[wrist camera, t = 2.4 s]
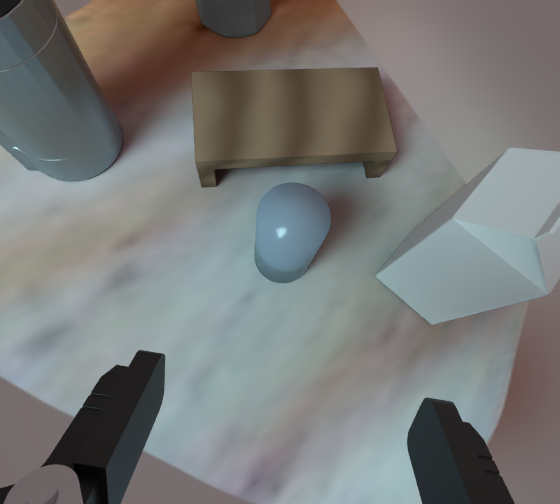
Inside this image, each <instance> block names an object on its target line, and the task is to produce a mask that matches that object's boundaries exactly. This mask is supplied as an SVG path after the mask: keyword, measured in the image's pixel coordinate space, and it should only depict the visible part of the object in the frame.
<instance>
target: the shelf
mask: <svg viewBox="0 0 560 504" xmlns="http://www.w3.org/2000/svg"><path fill="white" fill-rule="evenodd" d="M191 77H192V99H193V122H194V144H195V163H196V166H197V170H198V174H199V178H200V182H201V186H202V187H217V186H216V170H215V169H229V168H248V167H267V166H286V165H305V164H324V163H343V162H363V164H364V169H365V175H366V178H376V177H380V176H381V174H382V173H383V171H384V170H385V168H386V167H387V166H388V164H389V163H390V161H391V160H392V158H393V157H394V155H395V154H396V152H397V150H396V145H395V141H394V136H393V132H392V128H391V123H390V119H389V114H388V110H387V105H386V101H385V97H384V92H383V88H382V83H381V79H380V75H379V70H378V67H375V68H333V69H292V70H251V71H210V72H191Z"/></svg>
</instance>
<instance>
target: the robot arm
mask: <svg viewBox="0 0 560 504" xmlns="http://www.w3.org/2000/svg"><path fill="white" fill-rule="evenodd" d="M122 140H123V138H122V131H121V128H120V126H119V123H118V121H117V120H116V117H115V115H114V113H113V111H112V109H111V108H110V106H109V104H108V102H107V100H106V98H105V96H104V95H103V93H102V91H101V89H100V87H99V85H98V83H97V81H96V79H95V77H94V76H93V74H92V72H91V70H90V68H89V66H88V64H87V62H86V60H85V59H84V57H83V55H82V53H81V51H80V49H79V47H78V45H77V43H76V41H75V40H74V38H73V36H72V34H71V32H70V30H69V28H68V26H67V24H66V23H65V21H64V19H63V17H62V15H61V13H60V11H59V9H58V8H57V5H56V4H55V2H54V0H0V145H1V146H2V147H3V148H5V149H6V150H7V151H8V152H9V153H10V154H11V155H12V156H13V157H14V158H15V159H17V160H18V161H19V162H20V163H21V164H22V165H23V166H24V167H25V168H26V169H28V170H39V171H41V172H43V173H44V174H46V175H48V176H49V177H52V178H55V179H58V180H63V181H80V180H84V179H89V178H91V177H94V176H96V175H98V174H100V173H101V172H103V171H104V170H106V169H107V168H108V167H109V166H110V165H111V164H112V163H113V162H114V161H115V159H116V158H117V156H118V155H119V152H120V150H121V147H122ZM164 381H165V355H164V354H161V353H155V352H149V351H143V350H139V351H138V352H137V353H136V355H135V357H134V358H133V360H132V362H131V363H130V365H129V367H126V366H120V365H116V366H115V367H113V368H112V369H111V370H110V371H108V372H107V373H106V374H104V375H103V376H102V377H101V378H100V380H99V381H98V383H97V384H96V386H95V387H94V389H93V390H92V392H91V395H89V396H88V398H87V400H86V401H85V403H84V404H83V407H82V408H81V409H80V410H79V412H78V413H77V415H76V416H75V418H74V419H73V421H72V423H71V424H70V426H69V427H68V429H67V430H66V432H65V433H64V435H63V436H62V438H61V440H60V441H59V443H58V444H57V446H56V447H55V449H54V450H53V452H52V453H51V455H50V456H49V458H48V459H47V461H46V462H45V463H44V464H43V465H42V466H41V467H40V468H38V469H36V470H34V471H32V472H30V473H28V474H27V475H25V476H24V477H23V478H21V479H20V480H19V481H18V482H17V483H16V484H13V485H10V486H8V487H4V488H0V504H120V503H121V501H122V499H123V496H124V494H125V491H126V489H127V487H128V484H129V482H130V479H131V477H132V475H133V472H134V470H135V467H136V465H137V463H138V460H139V458H140V456H141V453H142V451H143V448H144V446H145V444H146V441H147V439H148V436H149V434H150V432H151V429H152V427H153V424H154V422H155V420H156V417H157V415H158V413H159V410H160V407H161V404H162V400H163V395H164ZM407 446H408V452H409V456H410V460H411V463H412V467H413V471H414V474H415V478H416V482H417V485H418V489H419V493H420V496H421V500H422V504H515V503H514V502H513V499H512V497H511V495H510V493H509V491H508V489H507V487H506V485H505V483H504V481H503V479H502V477H501V476H500V475H499V473H500V472H499V470H498V468H497V466H496V464H495V462H494V461H492V456H491V454H490V452H489V450H488V448H487V446H486V443H485V441H484V439H483V438H482V437H481V436H480V435H479V434H478V432H477V431H476V430H475V429H474V428H473V427H472V425H471V424H470V423H467V422H462V419H461V417H460V415H459V413H458V410H457V408H456V406H455V405H454V403H453V402H451V401H445V400H438V399H432V398H425V399H424V400H423V402H422V404H421V406H420V408H419V410H418V412H417V414H416V416H415V418H414V421H413V423H412V425H411V427H410V429H409V432H408V438H407Z"/></svg>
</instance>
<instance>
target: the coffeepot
mask: <svg viewBox="0 0 560 504" xmlns="http://www.w3.org/2000/svg"><path fill="white" fill-rule="evenodd" d="M196 4H197V8H198V12H199V16H200V19H201V23H202V24H203V25H204V26H206V27H207V28H208V29H210V30H211V31H213V32H214V33H217V34H219V35H222V36H226V37H232V38H238V37H245V36H249V35H252V34H254V33H257V32H258V31H259V30H260V29H261V28H262V27H263V26H264V25H265V23H266V22H267V20H268V18H269V17H270V16H271V7H270V0H196Z"/></svg>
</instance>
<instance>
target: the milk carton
mask: <svg viewBox="0 0 560 504" xmlns="http://www.w3.org/2000/svg"><path fill="white" fill-rule="evenodd" d="M375 276H376V277H377V278H378V279H379V280H380V281H381V282H382V283H383V284H385V285H386V286H387V287H388V288H389V289H390V290H392V291H393V292H394V293H395V294H396V295H397V296H399V297H400V298H401V299H402V300H403V301H404V302H406V303H407V304H408V305H409V306H410V307H411V308H413V309H414V310H415V311H416V312H417V313H418V314H420V315H421V316H422V317H423V318H424V319H425V320H427V321H428V322H429V323H430V324H431V325H433V324H437V323H441V322H445V321H449V320H453V319H457V318H461V317H465V316H469V315H473V314H477V313H481V312H484V311H488V310H492V309H496V308H500V307H504V306H508V305H512V304H516V303H520V302H524V301H528V300H532V299H536V298H540V297H543V296H546V295H548V294H550V292H551V291H552V289H553V288H554V287H555V285H556V283H557V282H558V281H559V279H560V152H556V151H546V150H535V149H524V148H513V147H511V148H509V149H507V150H506V151H505V152H504V153H503V154H502V155H501V156H499V157H498V158H497V159H496V160H495V161H493V162H492V163H491V164H490V165H489V166H488V167H486V168H485V169H484V170H483V171H482V172H481V173H480V174H478V175H477V176H476V177H475V178H474V179H472V180H471V181H470V182H469V183H468V184H467V185H465V186H464V187H463V188H462V189H461V190H460V191H458V192H457V193H456V194H455V195H454V196H452V197H451V198H450V199H449V200H448V201H447V202H445V203H444V204H443V205H442V206H441V207H440V208H438V209H437V210H436V211H435V212H434V213H433V214H431V215H430V216H429V217H428V218H427V219H426V220H424V221H423V222H422V223H421V224H420V225H419V226H417V227H416V228H415V229H414V230H413V231H412V232H411V233H410V235H409V236H408V237H407V238H406V239H405V241H404V242H403V243H402V244H401V245H400V246H399V248H398V249H397V250H396V251H395V252H394V254H393V255H392V256H391V257H390V258H389V259H388V261H387V262H386V263H385V264H384V265H383V267H382V268H381V269H380V270H379V271H378V273H377V274H376V275H375Z"/></svg>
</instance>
